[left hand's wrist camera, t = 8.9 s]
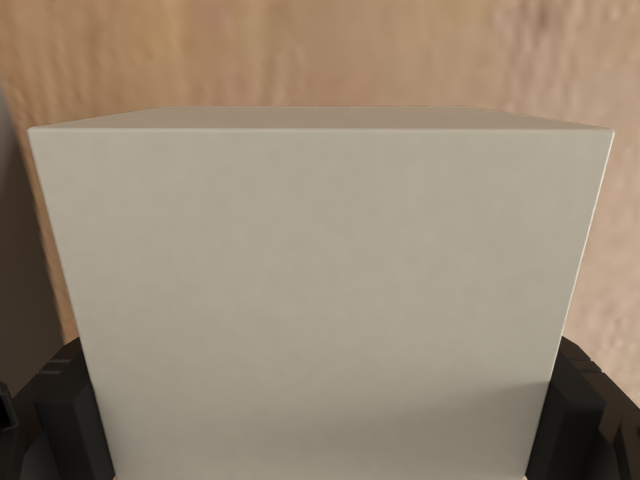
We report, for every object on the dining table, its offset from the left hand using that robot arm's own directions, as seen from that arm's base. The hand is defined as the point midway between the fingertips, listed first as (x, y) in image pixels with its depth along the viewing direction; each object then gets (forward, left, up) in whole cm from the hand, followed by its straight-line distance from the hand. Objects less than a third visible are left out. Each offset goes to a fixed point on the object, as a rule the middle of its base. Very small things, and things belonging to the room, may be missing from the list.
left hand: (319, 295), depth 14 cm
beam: (+25, +5, -1) cm, 25 cm away
